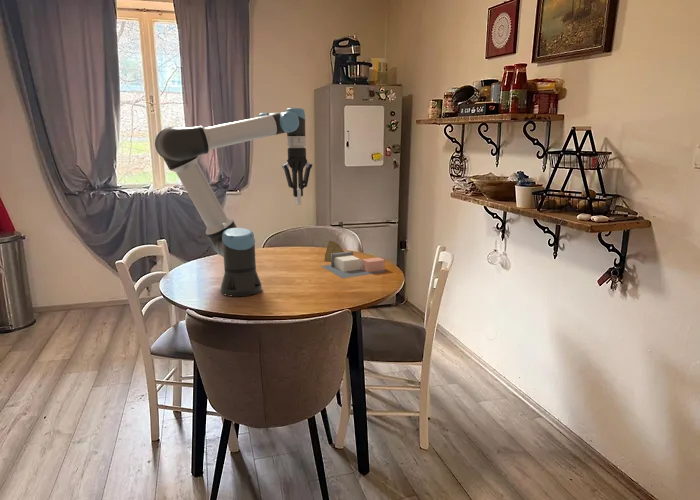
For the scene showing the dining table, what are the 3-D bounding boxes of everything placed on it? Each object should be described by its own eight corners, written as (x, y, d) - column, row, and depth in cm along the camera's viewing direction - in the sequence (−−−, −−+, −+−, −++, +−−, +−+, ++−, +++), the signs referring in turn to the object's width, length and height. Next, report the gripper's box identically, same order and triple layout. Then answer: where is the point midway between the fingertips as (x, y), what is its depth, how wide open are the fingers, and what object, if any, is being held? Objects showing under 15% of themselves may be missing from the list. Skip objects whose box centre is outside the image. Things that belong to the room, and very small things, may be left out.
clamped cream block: (340, 271, 213) (340, 258, 212) (329, 265, 223) (328, 253, 222) (362, 268, 218) (362, 256, 216) (350, 262, 228) (350, 250, 227)
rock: (351, 254, 238) (331, 250, 240) (349, 243, 231) (329, 238, 234) (343, 272, 231) (323, 267, 234) (341, 261, 225) (321, 256, 228)
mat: (342, 280, 204) (342, 278, 203) (320, 268, 223) (320, 265, 222) (386, 273, 213) (386, 271, 213) (362, 262, 232) (362, 260, 232)
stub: (368, 272, 212) (368, 262, 210) (362, 269, 216) (362, 259, 215) (384, 270, 215) (384, 260, 214) (378, 267, 220) (378, 257, 219)
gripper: (284, 147, 199) (286, 206, 205) (314, 147, 205) (316, 204, 210) (278, 147, 206) (280, 204, 211) (307, 146, 212) (309, 202, 217)
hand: (298, 204), depth 211 cm, fingers closed
